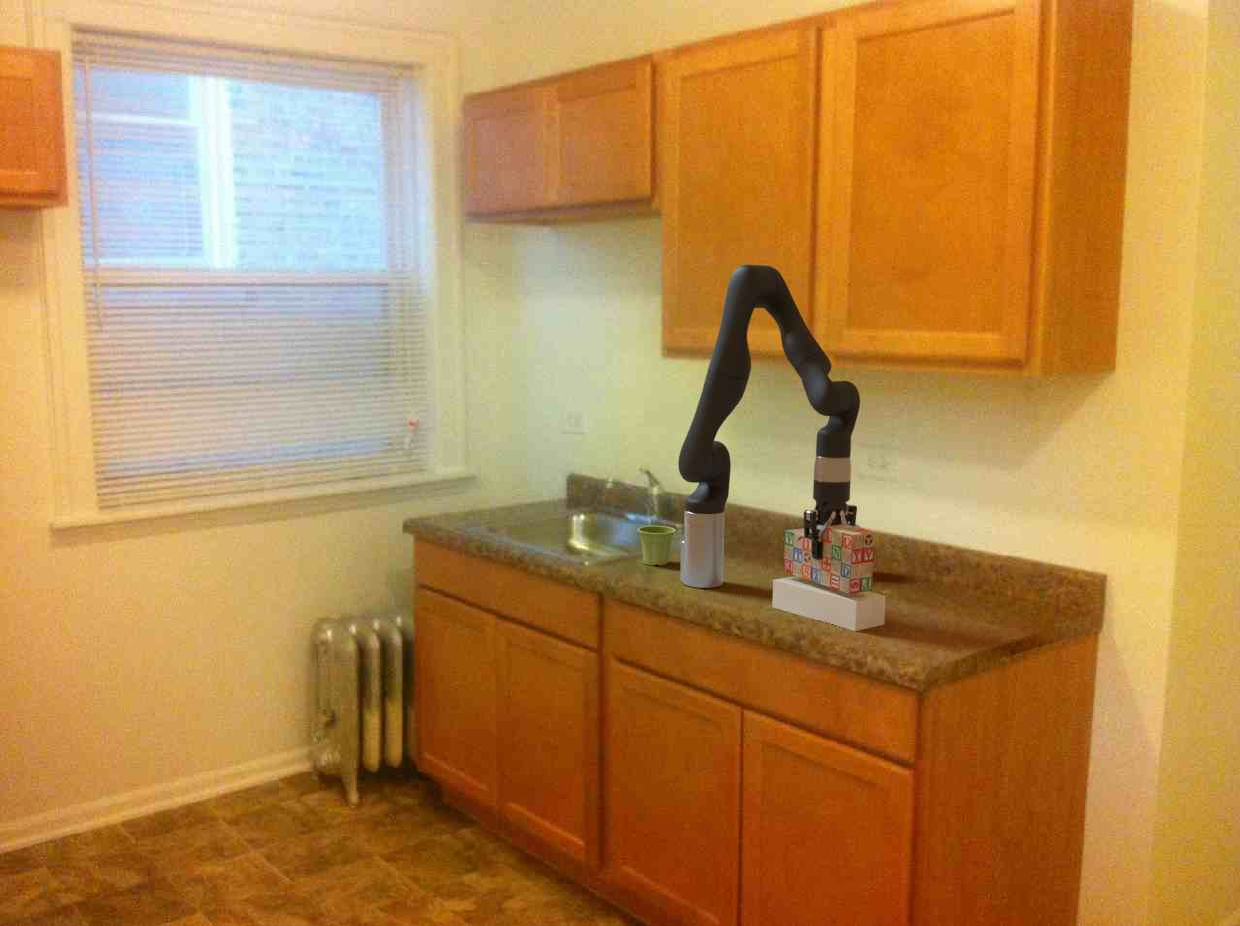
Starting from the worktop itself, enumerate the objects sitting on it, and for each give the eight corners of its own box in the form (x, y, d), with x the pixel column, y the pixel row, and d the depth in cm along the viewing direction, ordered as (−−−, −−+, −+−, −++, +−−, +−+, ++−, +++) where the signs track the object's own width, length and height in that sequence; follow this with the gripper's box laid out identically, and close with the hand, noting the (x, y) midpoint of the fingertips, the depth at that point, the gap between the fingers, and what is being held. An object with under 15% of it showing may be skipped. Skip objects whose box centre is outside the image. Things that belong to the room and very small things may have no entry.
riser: (772, 607, 251) (773, 579, 251) (801, 601, 257) (802, 574, 256) (855, 631, 234) (856, 602, 233) (884, 624, 239) (885, 595, 238)
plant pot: (682, 563, 293) (682, 529, 292) (658, 569, 286) (659, 534, 285) (653, 557, 299) (653, 524, 298) (629, 563, 292) (630, 529, 291)
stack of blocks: (782, 572, 252) (784, 516, 251) (805, 569, 256) (807, 513, 254) (849, 594, 234) (852, 533, 232) (873, 590, 237) (876, 531, 236)
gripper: (841, 473, 249) (838, 549, 251) (794, 478, 240) (791, 557, 242) (869, 477, 243) (865, 556, 245) (822, 483, 234) (818, 564, 236)
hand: (828, 556), depth 244 cm, fingers closed on stack of blocks, 6 cm apart
